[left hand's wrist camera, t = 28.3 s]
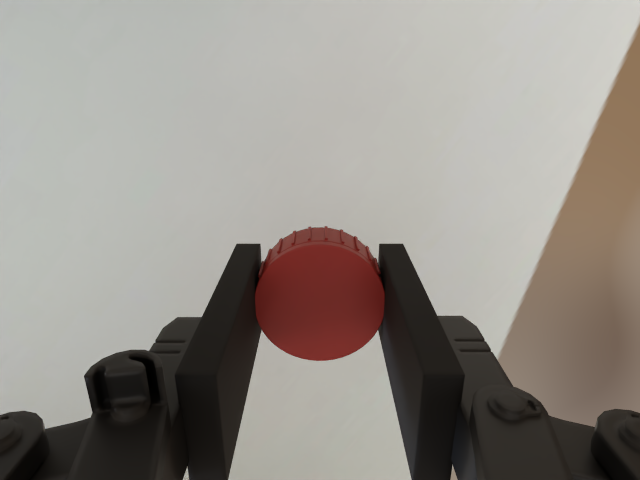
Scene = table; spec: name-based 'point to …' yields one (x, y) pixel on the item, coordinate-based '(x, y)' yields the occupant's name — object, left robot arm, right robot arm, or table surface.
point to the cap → (319, 294)
